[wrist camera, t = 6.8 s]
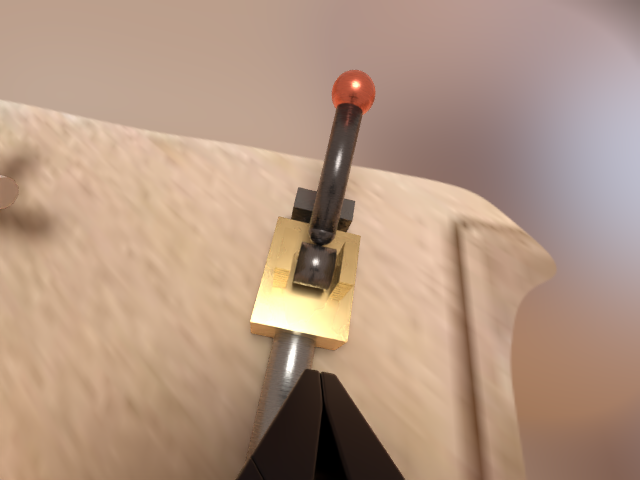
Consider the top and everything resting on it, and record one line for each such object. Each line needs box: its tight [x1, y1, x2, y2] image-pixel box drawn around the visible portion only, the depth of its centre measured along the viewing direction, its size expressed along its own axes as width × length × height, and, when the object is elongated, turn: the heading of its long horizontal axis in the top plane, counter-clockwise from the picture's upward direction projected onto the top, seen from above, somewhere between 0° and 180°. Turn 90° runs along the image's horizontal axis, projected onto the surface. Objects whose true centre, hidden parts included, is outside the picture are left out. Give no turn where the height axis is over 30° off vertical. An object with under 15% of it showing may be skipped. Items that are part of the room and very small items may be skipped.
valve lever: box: [293, 70, 375, 290], centre depth 19 cm, size 3×3×13 cm
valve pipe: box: [245, 187, 361, 463], centre depth 18 cm, size 21×6×6 cm, turn 170°
